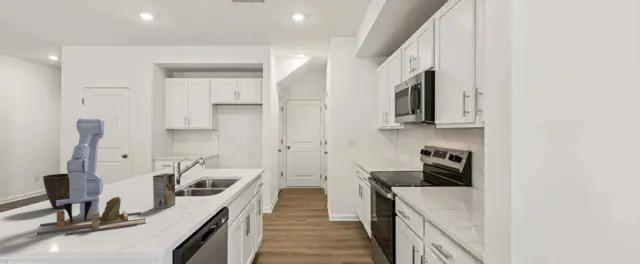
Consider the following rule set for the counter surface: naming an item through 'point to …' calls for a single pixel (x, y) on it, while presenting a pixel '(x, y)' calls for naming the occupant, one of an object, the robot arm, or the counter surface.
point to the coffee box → (164, 190)
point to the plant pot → (57, 188)
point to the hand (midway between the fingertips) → (78, 221)
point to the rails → (90, 226)
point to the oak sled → (82, 220)
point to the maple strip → (96, 224)
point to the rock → (111, 210)
